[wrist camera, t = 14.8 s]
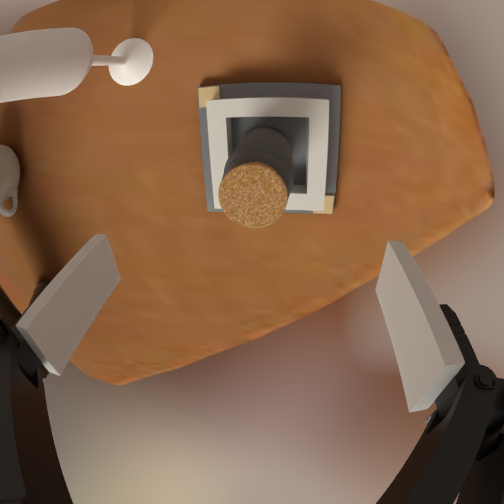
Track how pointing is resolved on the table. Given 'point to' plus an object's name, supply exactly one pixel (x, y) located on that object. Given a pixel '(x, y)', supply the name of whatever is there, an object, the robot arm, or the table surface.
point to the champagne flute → (63, 62)
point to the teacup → (8, 179)
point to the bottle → (258, 178)
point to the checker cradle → (284, 119)
